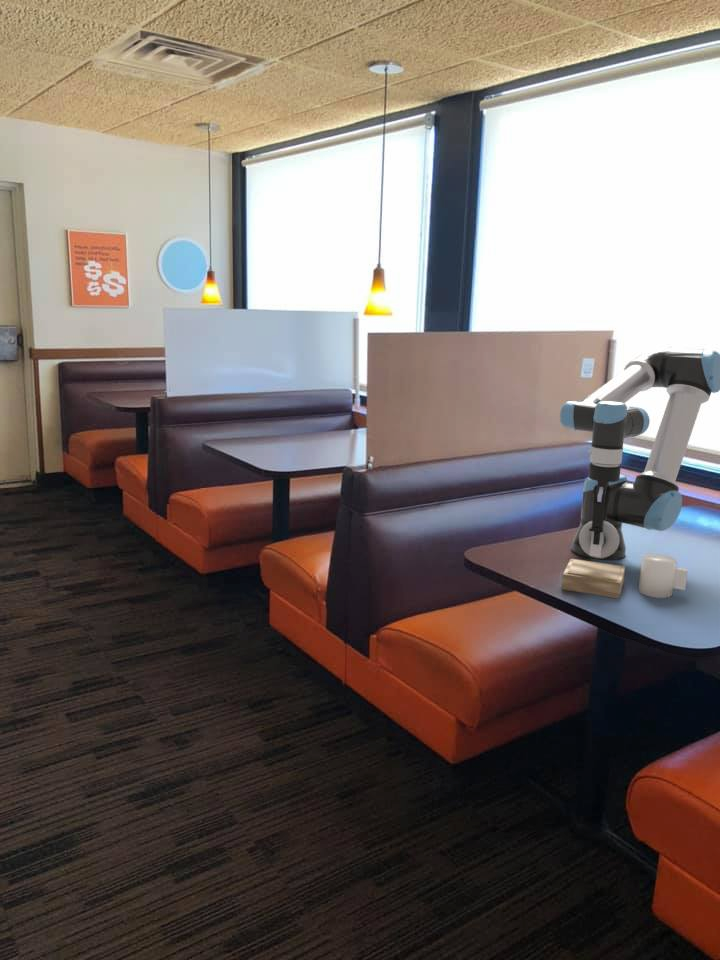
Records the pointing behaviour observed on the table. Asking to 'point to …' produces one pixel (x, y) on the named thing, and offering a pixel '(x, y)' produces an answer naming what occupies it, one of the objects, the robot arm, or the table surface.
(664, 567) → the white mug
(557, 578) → the table surface
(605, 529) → the donut
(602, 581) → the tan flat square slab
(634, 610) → the table surface
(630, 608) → the table surface
